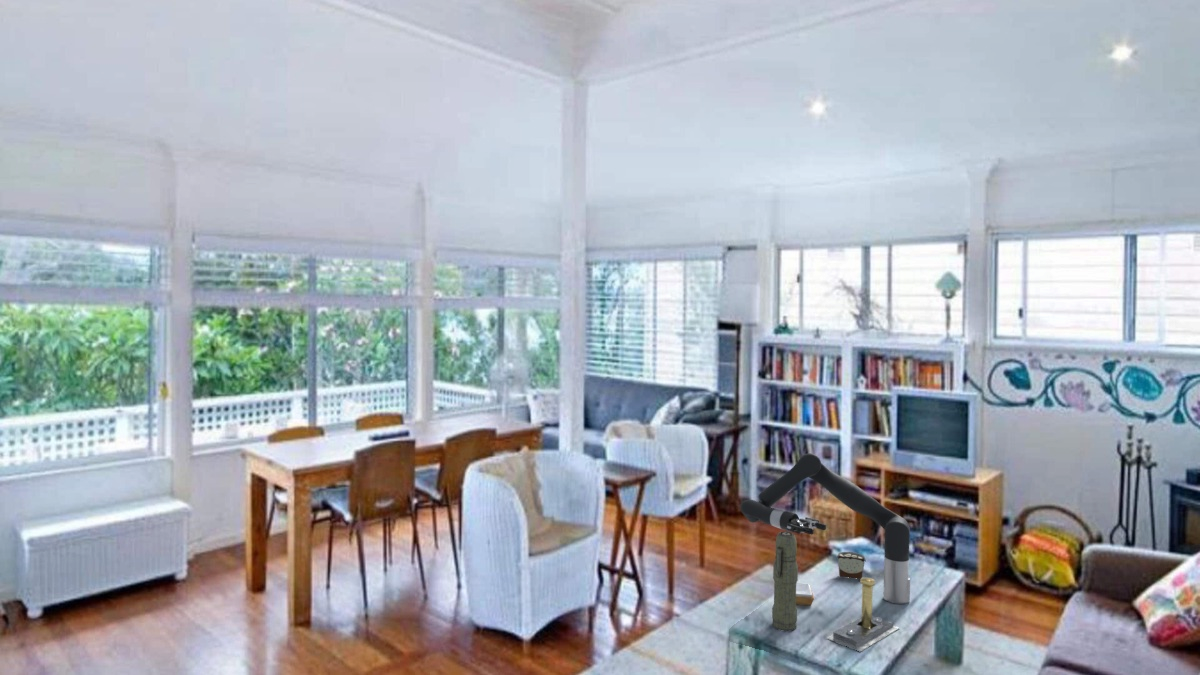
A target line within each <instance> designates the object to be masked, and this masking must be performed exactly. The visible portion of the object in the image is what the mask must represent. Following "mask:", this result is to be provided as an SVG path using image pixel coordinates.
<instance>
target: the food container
mask: <svg viewBox="0 0 1200 675" xmlns="http://www.w3.org/2000/svg"><path fill="white" fill-rule="evenodd" d="M836 560H837V563H838V575H839V576H840V577H839V576H838V577H839V578H842V577H849V578H848V579H850V578H857V579H856V580H858V579H861V578H864V576H863V575H864V570H865V569H864V568H865V564H866V563H867V558H866V557H865V555H863V554H861V553H859V552H855V551H840V552H838V553H837V555H836Z"/></svg>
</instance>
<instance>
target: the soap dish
mask: <svg viewBox="0 0 1200 675" xmlns="http://www.w3.org/2000/svg"><path fill="white" fill-rule="evenodd" d="M814 600H815V597H814V593H813V590H812V588H811V586H810V584H809V583H807V582H805V583H803V582H797V583H796V605H801V606H812V604H813V602H814Z"/></svg>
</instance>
